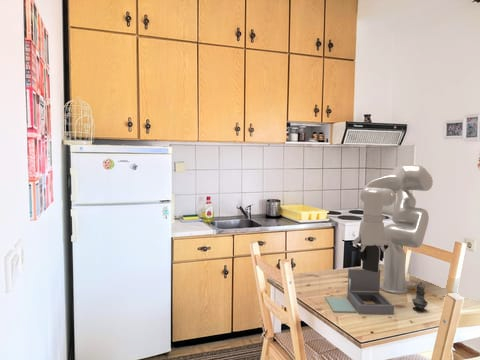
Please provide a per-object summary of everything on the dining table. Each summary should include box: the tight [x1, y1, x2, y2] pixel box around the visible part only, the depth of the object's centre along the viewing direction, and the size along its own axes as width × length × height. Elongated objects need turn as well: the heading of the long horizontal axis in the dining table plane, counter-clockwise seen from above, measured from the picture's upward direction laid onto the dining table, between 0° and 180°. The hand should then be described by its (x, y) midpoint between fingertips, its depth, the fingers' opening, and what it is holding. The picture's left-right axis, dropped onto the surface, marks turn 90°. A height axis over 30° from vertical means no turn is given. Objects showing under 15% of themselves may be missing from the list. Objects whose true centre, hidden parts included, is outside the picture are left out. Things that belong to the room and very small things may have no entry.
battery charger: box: [361, 245, 381, 272], centre depth 150 cm, size 7×4×11 cm, turn 52°
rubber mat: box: [325, 297, 357, 314], centre depth 151 cm, size 9×14×1 cm, turn 0°
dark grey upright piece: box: [411, 281, 429, 313], centre depth 147 cm, size 6×6×12 cm
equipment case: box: [346, 268, 395, 315], centre depth 151 cm, size 14×16×14 cm
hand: (371, 259), depth 150 cm, fingers closed on battery charger, 7 cm apart
